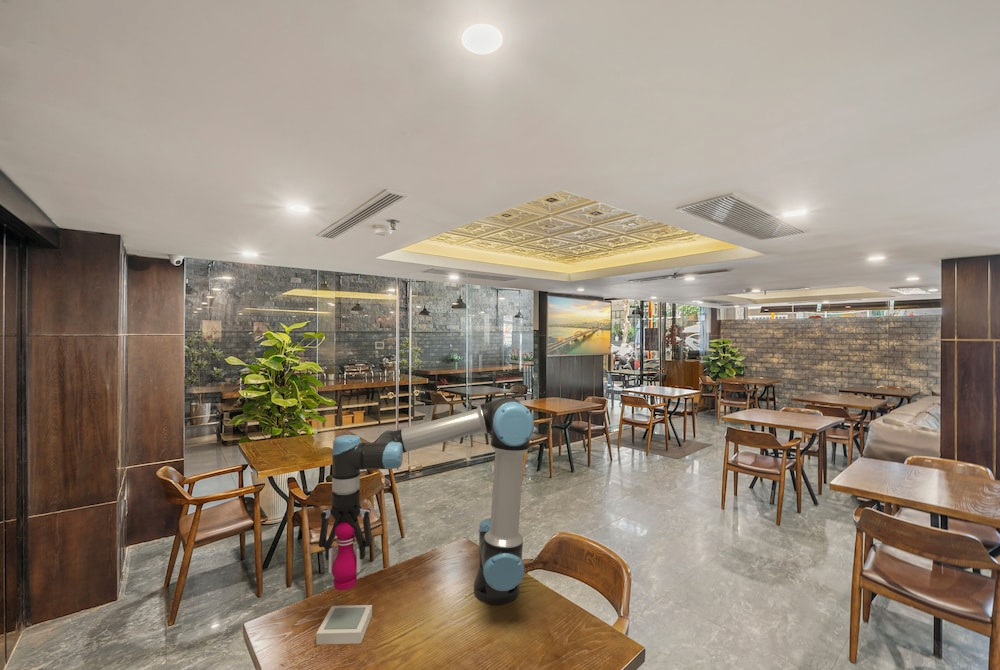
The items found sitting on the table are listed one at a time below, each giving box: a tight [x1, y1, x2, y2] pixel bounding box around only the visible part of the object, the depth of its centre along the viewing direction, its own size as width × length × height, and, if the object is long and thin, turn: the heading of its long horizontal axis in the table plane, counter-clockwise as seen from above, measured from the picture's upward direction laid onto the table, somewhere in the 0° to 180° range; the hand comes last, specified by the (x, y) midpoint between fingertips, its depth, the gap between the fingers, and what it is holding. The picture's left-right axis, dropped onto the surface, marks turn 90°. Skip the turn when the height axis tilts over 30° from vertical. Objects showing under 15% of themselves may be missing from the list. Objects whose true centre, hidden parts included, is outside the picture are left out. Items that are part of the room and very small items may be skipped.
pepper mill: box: [331, 522, 358, 591], centre depth 123 cm, size 7×7×20 cm
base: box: [315, 604, 373, 645], centre depth 123 cm, size 12×12×3 cm
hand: (345, 570), depth 123 cm, fingers closed on pepper mill, 7 cm apart
